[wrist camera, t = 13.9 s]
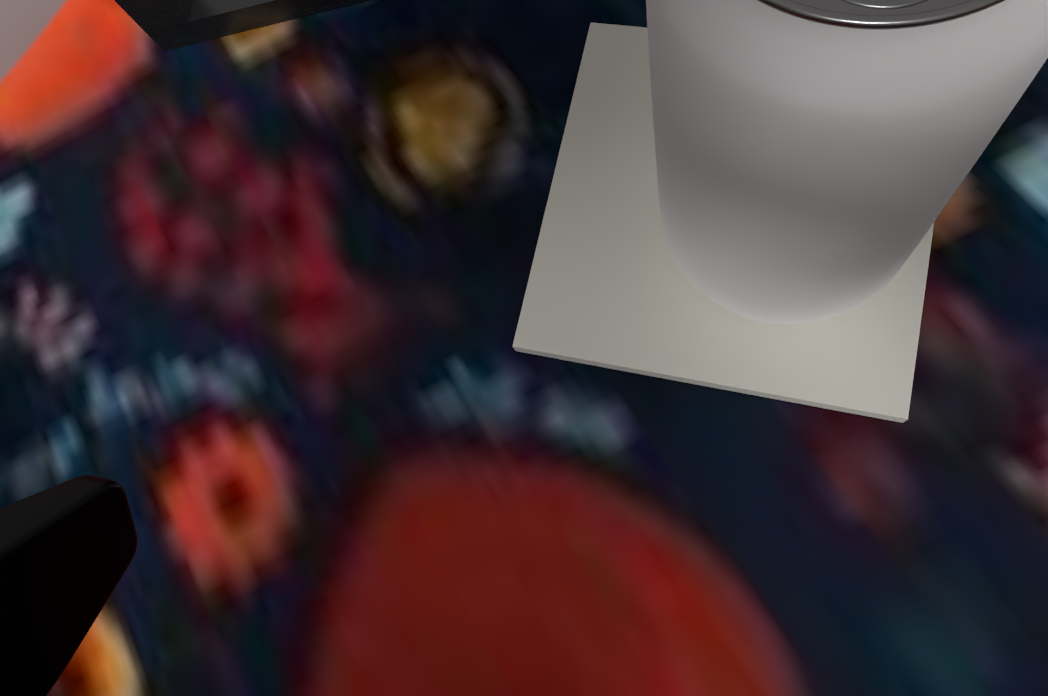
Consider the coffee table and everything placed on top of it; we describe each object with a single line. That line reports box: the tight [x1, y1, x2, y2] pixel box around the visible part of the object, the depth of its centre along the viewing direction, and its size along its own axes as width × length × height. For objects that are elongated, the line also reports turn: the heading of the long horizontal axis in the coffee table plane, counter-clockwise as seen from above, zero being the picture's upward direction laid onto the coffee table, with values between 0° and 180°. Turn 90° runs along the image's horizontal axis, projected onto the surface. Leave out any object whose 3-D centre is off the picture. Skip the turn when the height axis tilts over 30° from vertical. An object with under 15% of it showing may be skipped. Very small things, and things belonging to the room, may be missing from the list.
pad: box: [513, 23, 934, 423], centre depth 23 cm, size 10×10×1 cm
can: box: [646, 0, 1048, 324], centre depth 17 cm, size 6×6×12 cm
